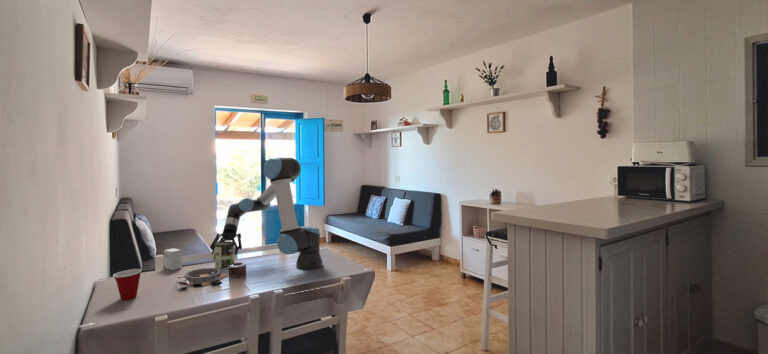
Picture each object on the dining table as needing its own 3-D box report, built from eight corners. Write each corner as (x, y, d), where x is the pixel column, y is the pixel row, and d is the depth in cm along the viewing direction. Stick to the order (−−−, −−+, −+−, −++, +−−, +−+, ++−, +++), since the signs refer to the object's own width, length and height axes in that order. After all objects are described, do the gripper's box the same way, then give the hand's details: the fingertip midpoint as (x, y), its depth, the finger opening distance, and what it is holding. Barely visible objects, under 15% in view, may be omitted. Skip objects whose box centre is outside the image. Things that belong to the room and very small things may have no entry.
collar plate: (228, 276, 204) (228, 269, 203) (204, 286, 187) (204, 279, 187) (202, 272, 209) (202, 266, 208) (176, 282, 192) (176, 275, 192)
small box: (182, 268, 216) (181, 249, 216) (172, 270, 212) (171, 251, 211) (174, 265, 221) (173, 247, 220) (164, 268, 216) (164, 249, 215)
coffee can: (237, 264, 224) (237, 241, 223) (229, 270, 214) (229, 245, 213) (219, 264, 224) (219, 240, 224) (211, 269, 214) (211, 245, 213)
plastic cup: (122, 293, 176) (121, 268, 175) (147, 293, 177) (146, 268, 176) (107, 302, 165) (106, 275, 164) (133, 302, 166) (133, 275, 165)
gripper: (251, 230, 235) (244, 262, 220) (213, 230, 232) (204, 263, 217) (249, 223, 229) (242, 255, 214) (210, 223, 227) (200, 256, 212)
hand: (223, 259), depth 216 cm, fingers closed on coffee can, 10 cm apart
